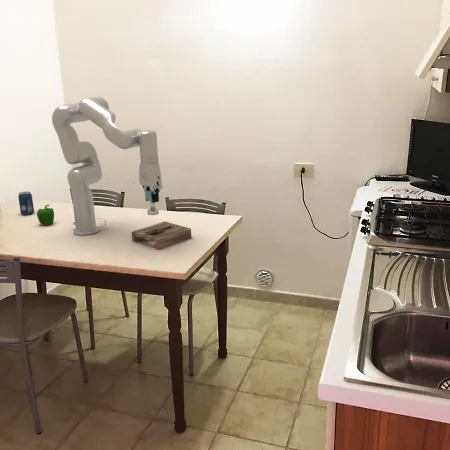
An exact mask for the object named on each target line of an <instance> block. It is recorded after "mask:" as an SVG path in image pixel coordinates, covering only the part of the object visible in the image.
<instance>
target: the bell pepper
mask: <svg viewBox="0 0 450 450" xmlns="http://www.w3.org/2000/svg"><path fill="white" fill-rule="evenodd" d="M36 216H37V220H38V222H39V224H40V225H41V226H50V225H53V223H54V221H55V211H54V208H52V207H50V204H49V203H48V204H45V205H44V208H43V209H42V208H39V209H38V210H37V212H36Z"/></svg>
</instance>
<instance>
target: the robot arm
mask: <svg viewBox="0 0 450 450" xmlns="http://www.w3.org/2000/svg"><path fill="white" fill-rule="evenodd" d="M116 118H117V117H116V114H115V113H114V112H113V111H111V110H110V105H109V103H108V101H107V100H106V99H105V98H103V97H101V96H92V97H86V98H83V99H81V100H80V101H79V102H76V103H67V104H62V105H58V106H57V107H56V108H55V109H54V110H53V112H52V115H51V123H52V126H53V128H54V131H55V132H56V136H57V137H58V141H59V145H60V148H61V151H62V154H63V157H64V160H65V161H66V163H67V164H69V165H77V164H82V165H80V166H75V167H73V168H71V169H70V170H69V171H68V173H67V176H66V178H67V182H68V185H69V188H70V191H71V194H70V195H71V200H72V208H73V214H74V215H73V216H74V222H73V225H74V226H75V228H73V230H72V233H73V234H74V235H76V236H89V235H90V236H91V235H93V234H94V235H95V234H97V233H98V232H99V231H100V230H101V229H100V226H98V225H97V222H96V213H95V204H94V195H93V191H92V190H91V188H90V187H89V186H90V185H93V184H95V183H98V182H99V181H100V180H102V178H103V177H102V176H103V172H102V167H101V163H100V160H99V157H98V154H97V151H96V148H95V146H94V145H93V144H92V143H91V142H90V141H84V140H83V141H80V139H79V135H78V133H77V131H76V129H75V128H74V127H73V125H71V124H74V123H75V124H76V123H81V122H87V121H90V122H91V123H93V124H94V125H96V126H98V128H100V129H102V133H103V134H104V136H105V138H106V140H108V141H109V142H110V143H111V144H113V145H115V146H116V147H117V148H119V149H122V150H129V149H133V148H138V147H139V155H140V162H139V168H138V169H139V170H138V171H139V172H138V176H139V177H138V181H139V184H140V186H141V187H142V188H143V192H144V193H145V190H149V189H152V190H153V194H152V199H153V203H155V204H156V203H158V202H160V195H159V193H160V191H161V190H162V189H163V187H164V186H163V184H162V182H163V180H162V172H161V171H162V170H161V167H160V163H159V162H160V161H159V151H158V150H159V149H158V138H157V137H158V134H157V132H156V131H155V130H152V129H151V130H149V129H148V130H146V129H145V130H144V129H141V128H134V129H129V130H122V129H120V128H119V127H118V126H117V125H115V122H116ZM144 197H145V198H144V199H145V201H146V202H150V200H146V196H144Z"/></svg>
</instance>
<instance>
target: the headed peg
mask: <svg viewBox="0 0 450 450" xmlns="http://www.w3.org/2000/svg"><path fill="white" fill-rule="evenodd" d="M152 194H153V190H152V188H151V189H149V190H145V192H144V195H145V196H146V198H145V201H146V200H149V204H150V205H149V206H150V207H149V209H147V215H149V216H157V215H159V214H160V211H159V210H160V209H158V208H156V202H155V203H153V199H152ZM145 196H144V197H145Z"/></svg>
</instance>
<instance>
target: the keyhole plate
mask: <svg viewBox="0 0 450 450" xmlns="http://www.w3.org/2000/svg"><path fill="white" fill-rule="evenodd" d="M130 234H131V242H132V243H133V242H138V241H141V240H147V241H148V242H149V241H150V242H153V243H155V250H157V251H160V250H162V249H165V248H168V247H170V246H172V245H175V244H179V243H181V242H184V241H187V240H189V239H191V238H192V228H190V227H187V226H183V225H179V224H176V223H173V222H169V221H162V222H158V223H154V224H152V225H148V226H146V227H142V228H139V229H136V230H132V231H131V232H130Z"/></svg>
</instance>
